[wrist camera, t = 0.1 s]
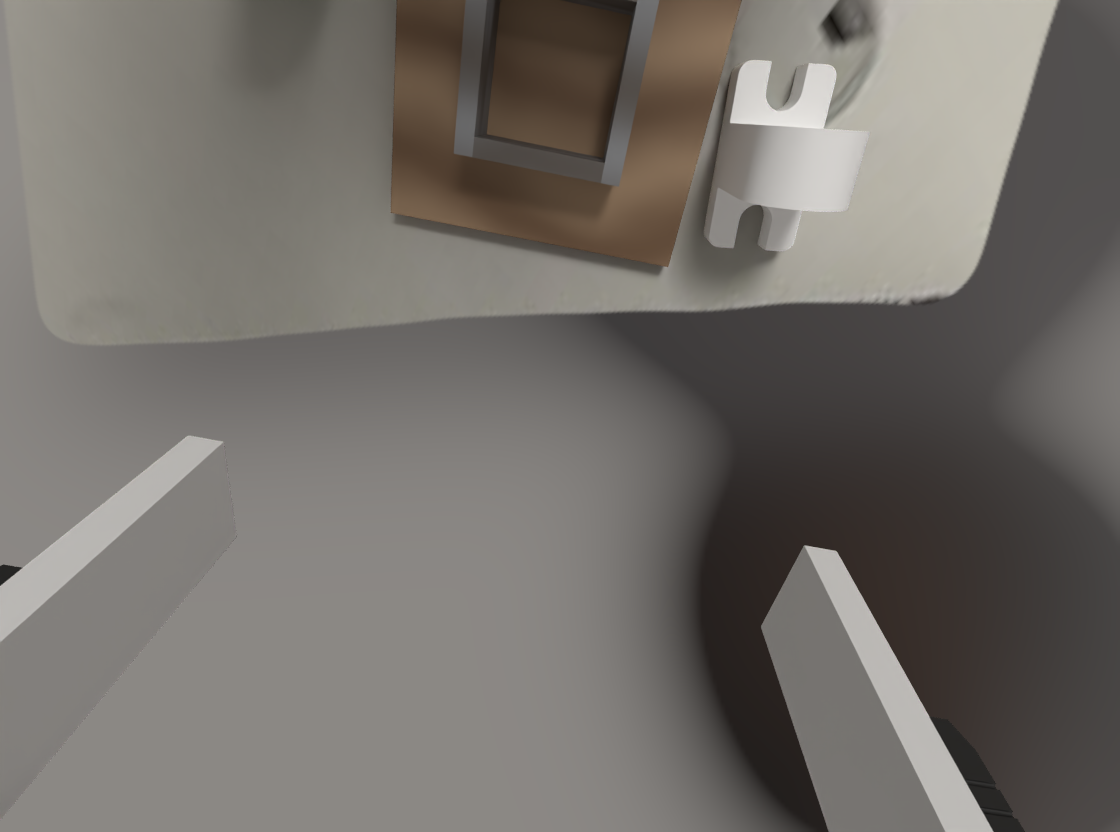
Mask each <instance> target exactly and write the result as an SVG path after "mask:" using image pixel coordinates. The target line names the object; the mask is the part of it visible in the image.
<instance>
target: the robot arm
mask: <svg viewBox="0 0 1120 832" xmlns="http://www.w3.org/2000/svg"><path fill="white" fill-rule="evenodd" d="M236 537H237V536H236V528H235V520H234V513H233V506H232V498H231V491H230V483H229V476H228V468H227V461H226V454H225V446H224V442H222V441H217V440H212V439H206V438H200V437H195V436H187V437H186V438H184V439H183V440H182V441H181V442H179V443H178V444H177V445H176V446H174V447H173V448H172V449H171V450H169V451H168V452H167V453H166V454H164V455H163V456H162V457H161V458H159V459H158V460H157V461H156V462H154V463H153V464H152V465H151V466H150V467H148V468H147V469H146V470H144V471H143V472H142V473H141V474H139V475H138V476H137V477H136V478H134V479H133V480H132V481H131V482H129V483H128V484H127V485H126V486H124V487H123V488H122V489H121V490H120V491H118V492H117V493H116V494H114V495H113V496H112V497H111V498H109V499H108V500H107V501H106V502H104V503H103V504H102V505H101V506H99V507H98V508H97V509H96V510H95V511H93V512H92V513H91V514H90V515H88V516H87V517H86V518H85V519H83V520H82V521H81V522H80V523H78V524H77V525H76V526H74V527H73V528H72V529H71V530H69V531H68V532H67V533H66V534H64V535H63V536H62V537H61V538H60V539H58V540H57V541H56V542H55V543H53V544H52V545H51V546H50V547H48V548H47V549H46V550H45V551H43V552H42V553H41V554H40V555H38V556H37V557H36V558H35V559H33V560H32V561H31V562H30V563H28V564H27V565H26V566H25V567H24V568H20V567H14V566H8V565H2V566H0V820H1V819H2V818H3V816H4V815H5V814H6V813H7V811H8V810H9V809H10V808H11V807H12V805H13V804H14V803H15V802H16V800H18V798H19V797H20V796H21V794H23V792H24V791H25V790H26V789H27V788H28V786H29V785H30V784H31V783H32V782H33V780H34V779H35V778H36V777H37V776H38V774H39V773H40V772H41V771H42V770H43V768H44V767H45V766H46V765H47V764H48V762H49V761H50V760H51V759H52V757H53V756H54V755H55V754H56V753H57V752H58V750H59V749H60V748H61V747H62V745H63V744H64V743H65V742H66V741H67V740H68V738H69V737H70V736H71V735H72V734H73V732H74V731H75V730H76V729H77V728H78V726H79V725H80V724H81V723H82V722H83V720H84V719H85V718H86V717H87V716H88V714H89V713H90V712H91V711H92V710H93V708H94V707H95V706H96V705H97V704H98V703H99V701H100V700H101V699H102V698H103V697H104V695H105V694H106V693H107V692H108V690H109V689H110V688H111V687H112V686H113V685H114V683H115V682H116V681H117V680H118V678H119V677H120V676H121V675H122V673H124V671H125V670H126V669H127V667H129V665H130V664H131V663H132V662H133V661H134V659H135V658H136V657H137V656H138V655H139V653H140V652H141V651H142V650H143V649H144V647H145V646H146V645H147V644H148V643H149V641H150V640H151V639H152V638H153V636H154V635H155V634H156V633H157V632H158V630H159V629H160V628H161V627H162V626H163V625H164V623H165V622H166V621H167V620H168V619H169V617H170V616H171V615H172V614H173V613H174V611H175V610H176V609H177V608H178V607H179V605H180V604H181V603H182V602H183V601H184V599H185V598H186V597H187V596H188V595H189V593H190V592H191V591H192V590H193V589H194V587H195V586H196V585H197V584H198V583H199V581H200V580H201V579H202V578H203V577H204V575H205V574H206V573H207V572H208V571H209V570H210V568H211V567H212V566H213V565H214V564H215V562H216V561H217V560H218V559H219V557H220V556H221V555H222V554H223V553H224V551H225V550H226V549H227V548H228V547H229V545H230V544H231V543H232V542H233V541H234V539H235V538H236ZM761 628H762V631H763V634H764V637H765V640H766V643H767V646H768V649H769V652H770V655H771V658H772V661H773V664H774V667H775V670H776V673H777V676H778V679H779V682H780V685H781V688H782V691H783V694H784V697H785V700H786V703H787V706H788V710H789V713H790V716H791V718H792V721H793V725H794V728H795V731H796V734H797V736H798V739H799V743H800V746H801V749H802V751H803V755H804V758H805V760H806V764H807V767H808V770H809V772H810V776H811V779H812V782H813V785H814V788H815V791H816V794H817V797H818V800H819V803H820V806H821V809H822V812H823V815H824V818H825V821H826V824H827V827H828V830H829V832H1025V831H1024V829H1023V828H1022V826H1021V825H1020V823H1019V822H1018V820H1017V819H1015V818H1014V817H1013V816H1012V812H1013V811H1012V810H1011V808H1010V807H1009V805H1008V803H1007V801H1006V800H1005V798H1004V796H1003V795H1002V793H1001V791H1000V790H997V789H996V787H995V784H996V783H995V781H994V780H993V778H992V776H991V775H990V773H989V772H988V770H987V768H986V767H985V765H984V763H983V762H982V760H981V758H980V757H979V755H978V753H977V752H976V750H975V749H974V748H973V747H972V746H971V745H970V743H969V742H968V741H967V740H966V739H965V738H964V737H963V736H962V735H961V734H960V733H959V731H957V729H956V728H955V727H954V726H953V725H952V724H951V723H950V722H949V721H948V720H947V719H941V718H934V717H929V716H928V714H927V712H926V710H925V709H924V707H923V705H922V703H921V701H920V700H919V698H918V696H917V694H916V692H915V691H914V689H913V687H912V685H911V684H910V682H909V680H908V678H907V676H906V675H905V673H904V671H903V669H902V667H901V666H900V664H899V662H898V661H897V659H896V657H895V655H894V653H893V652H892V650H891V648H890V646H889V644H888V643H887V641H886V639H885V637H884V635H883V634H882V632H881V630H880V628H879V626H878V625H877V623H876V621H875V619H874V618H873V616H872V614H871V612H870V610H869V609H868V607H867V605H866V603H865V601H864V600H863V598H862V596H861V594H860V592H859V591H858V589H857V587H856V585H855V584H854V582H853V580H852V578H851V576H850V575H849V573H848V571H847V569H846V568H845V566H844V564H843V562H842V560H841V558H840V557H839V555H838V553H837V551H832V550H827V549H821V548H816V547H810V546H804V547H803V549H802V551H801V553H800V554H799V556H798V558H797V560H796V562H795V564H794V566H793V568H792V569H791V571H790V573H789V575H788V577H787V579H786V581H785V583H784V585H783V587H782V588H781V590H780V592H779V594H778V596H777V598H776V600H775V602H774V603H773V605H772V607H771V609H770V611H769V613H768V615H767V616H766V618H765V620H764V622H763V624H762V626H761Z"/></svg>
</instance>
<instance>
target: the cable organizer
mask: <svg viewBox="0 0 1120 832" xmlns="http://www.w3.org/2000/svg"><path fill="white" fill-rule="evenodd" d="M771 63H772V61H761V60H750V61H747V62H744V63H741V64H738V65H737V66H736V67H735V68H734V69H733V71H732V73H731V77H730V83H729V88H728V94H727V100H726V106H725V111H724V117H723V123H722V129H721V134H720V140H719V146H718V152H717V157H716V163H715V169H714V175H713V180H712V186H711V192H710V198H709V203H708V209H707V215H706V221H705V226H704V236H705V238H706V239H707V240H708V241H709V242H710V243H711V244H712V245H713V246H715V247H722V248H734V244H735V239H736V234H737V229H738V224H739V220H740V217H741V215H742V213H743V212H744V211H745V210H746V209H747V208H749V207H750V206H753V205H761V206H762V208H763V212H764V215H763V221H762V226H761V230H760V235H759V239H758V245H759V246H760V247H762V248H763V249H764V250H768V251H786V250H788V249H790V248H791V247H792V245H793V244H794V241H795V237H796V233H797V229H798V225H799V221H800V217H801V213H802V211H817V212H839V211H846V210H848V206H849V203H850V199H851V196H852V193H853V189H854V186H855V182H856V179H857V175H858V172H859V168H860V165H861V162H862V158H863V155H864V151H865V148H866V144H867V141H868V137H869V134H870V132H867V131H851V130H835V129H824V125H825V121H826V117H827V113H828V109H829V105H830V101H831V97H832V93H833V89H834V85H835V81H836V71H835V69H834V68H833V67H832V66H831V65H827V64H811V63H808V64H804V65H800V66H797V68H796V73H795V77H794V82H793V86H792V91H791V94H790V97H789V99H788V101H787V103H786V104H785V105H784V106H783V107H781V108H780V109H778V110H774V109H772V108H771V107H770V106H769V104H768V102H767V100H766V88H767V83H768V78H769V73H770V68H771Z"/></svg>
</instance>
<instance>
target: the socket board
mask: <svg viewBox="0 0 1120 832" xmlns="http://www.w3.org/2000/svg"><path fill="white" fill-rule="evenodd" d="M741 1H742V0H397V14H396V49H395V83H394V117H393V152H392V186H391V213H395V214H400V215H405V216H410V217H415V218H420V219H425V220H430V221H436V222H441V223H446V224H451V225H456V226H461V227H466V228H471V229H476V230H482V231H487V232H492V233H497V234H502V235H507V236H512V237H517V238H522V239H528V240H533V241H538V242H543V243H548V244H553V245H558V246H563V247H568V248H574V249H579V250H584V251H589V252H594V253H599V254H604V255H609V256H614V257H620V258H625V259H630V260H635V261H640V262H645V263H650V264H655V265H660V266H666V267H668V266H669V262H670V258H671V255H672V251H673V248H674V244H675V240H676V237H677V233H678V229H679V226H680V222H681V219H682V215H683V211H684V208H685V204H686V200H687V197H688V193H689V189H690V186H691V182H692V179H693V175H694V171H695V168H696V164H697V160H698V157H699V153H700V149H701V146H702V142H703V139H704V135H705V131H706V128H707V124H708V120H709V117H710V113H711V110H712V106H713V102H714V99H715V95H716V91H717V88H718V84H719V80H720V77H721V73H722V70H723V66H724V62H725V59H726V55H727V51H728V48H729V44H730V41H731V37H732V33H733V30H734V26H735V22H736V19H737V15H738V11H739V8H740V4H741Z"/></svg>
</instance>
